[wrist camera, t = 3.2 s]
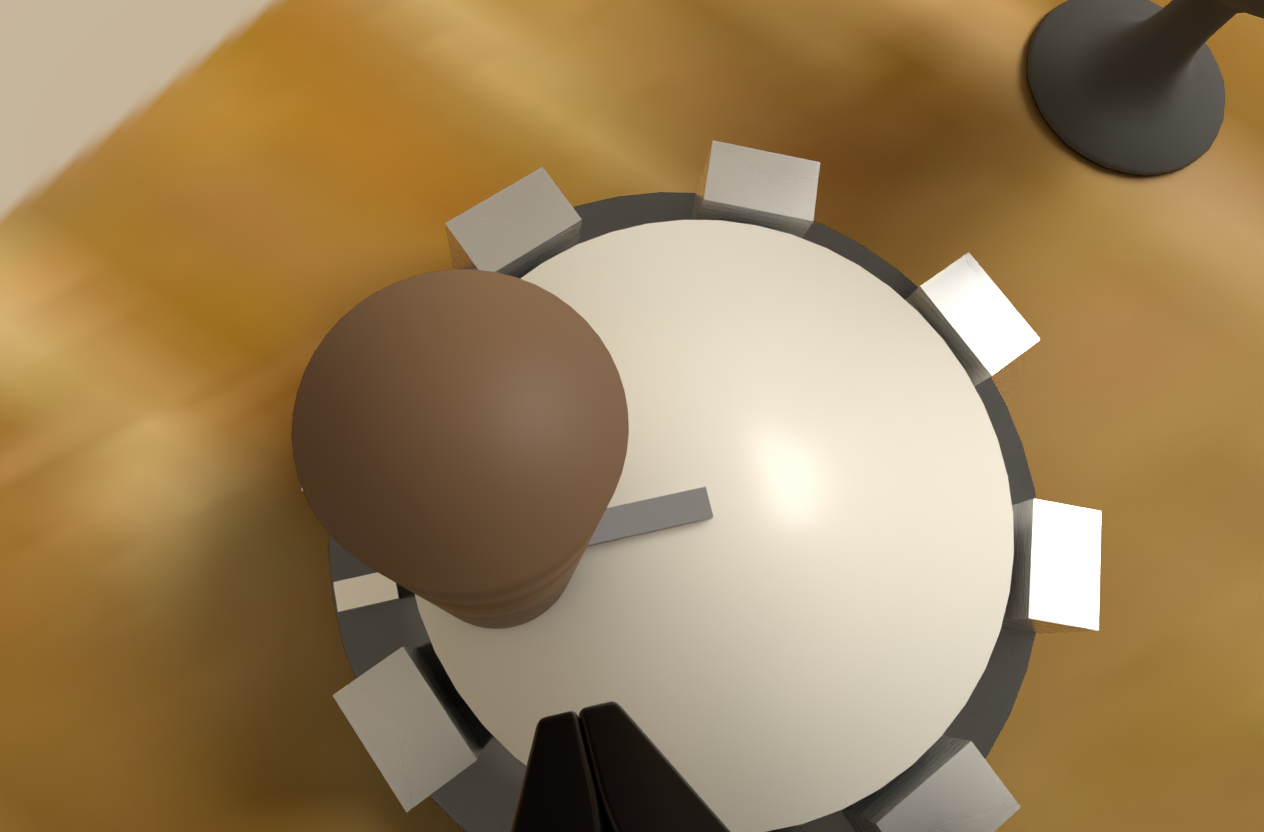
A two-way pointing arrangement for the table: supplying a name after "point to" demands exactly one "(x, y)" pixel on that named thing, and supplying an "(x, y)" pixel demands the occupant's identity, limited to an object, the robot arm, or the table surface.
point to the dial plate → (983, 344)
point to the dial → (677, 502)
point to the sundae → (1133, 79)
